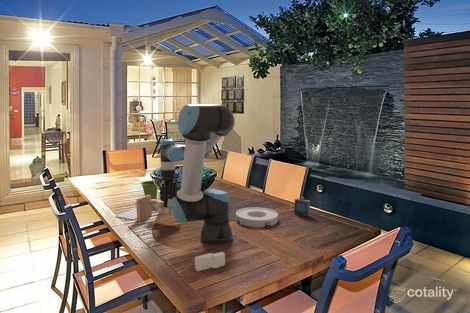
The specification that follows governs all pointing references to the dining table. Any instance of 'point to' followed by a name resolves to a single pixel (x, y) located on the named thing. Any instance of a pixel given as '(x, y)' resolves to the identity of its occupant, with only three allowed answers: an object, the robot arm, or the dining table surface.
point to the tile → (143, 207)
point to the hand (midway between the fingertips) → (168, 212)
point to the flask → (302, 207)
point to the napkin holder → (209, 261)
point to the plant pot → (150, 189)
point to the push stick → (159, 206)
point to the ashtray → (256, 217)
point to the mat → (129, 214)
